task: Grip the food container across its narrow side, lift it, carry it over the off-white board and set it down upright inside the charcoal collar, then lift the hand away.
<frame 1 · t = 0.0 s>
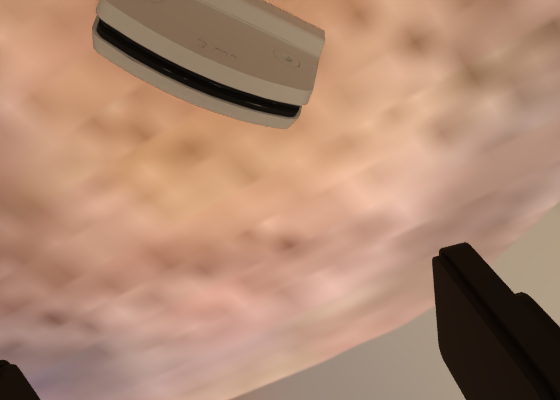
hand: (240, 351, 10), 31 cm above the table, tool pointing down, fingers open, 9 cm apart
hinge: (214, 33, 37), on the table
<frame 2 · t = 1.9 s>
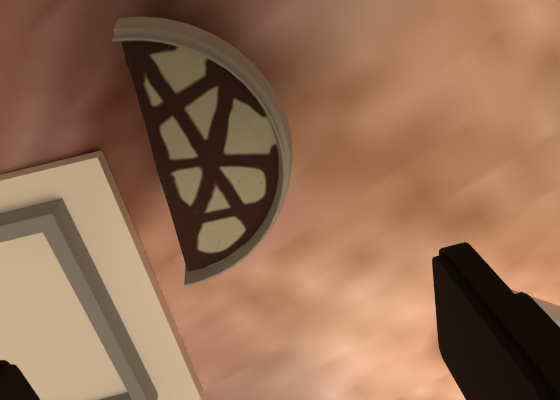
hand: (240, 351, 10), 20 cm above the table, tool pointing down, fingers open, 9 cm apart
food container: (223, 103, 28), on the table
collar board: (39, 317, 34), on the table
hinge: (523, 334, 41), on the table
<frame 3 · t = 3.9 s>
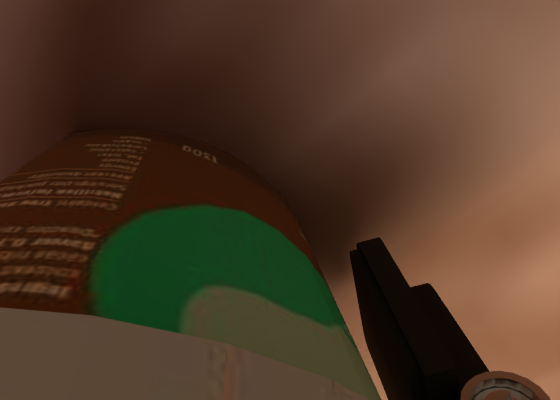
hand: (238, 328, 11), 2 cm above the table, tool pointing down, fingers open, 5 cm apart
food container: (242, 265, 13), on the table, touching gripper
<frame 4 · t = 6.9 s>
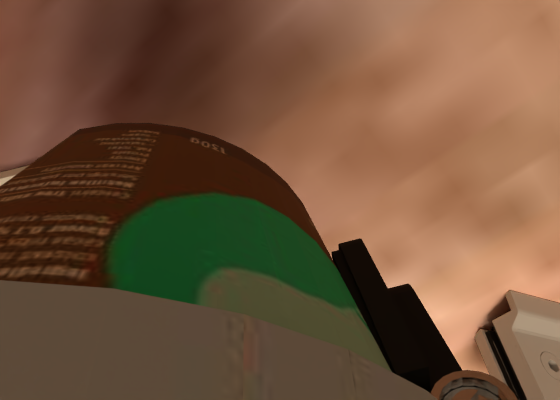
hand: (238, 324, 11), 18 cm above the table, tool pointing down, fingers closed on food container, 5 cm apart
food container: (253, 256, 13), point 15 cm above the table, touching gripper
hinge: (558, 342, 39), on the table
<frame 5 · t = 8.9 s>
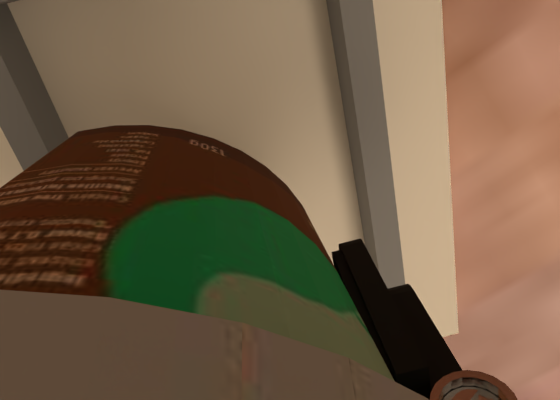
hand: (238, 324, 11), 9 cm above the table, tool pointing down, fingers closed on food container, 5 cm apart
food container: (252, 258, 13), point 7 cm above the table, touching gripper
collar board: (227, 174, 19), on the table
when the fingers open (5 cm above the table, at t = 9.9 s): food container drops 2 cm, resting on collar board.
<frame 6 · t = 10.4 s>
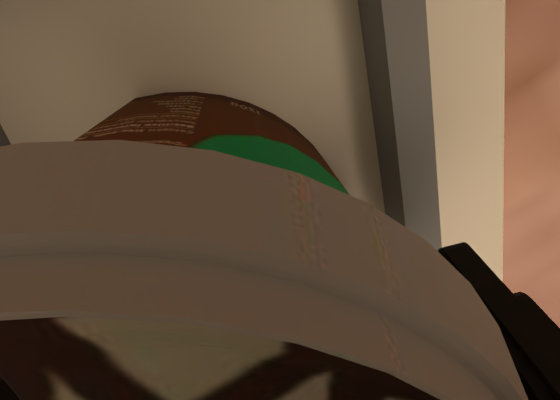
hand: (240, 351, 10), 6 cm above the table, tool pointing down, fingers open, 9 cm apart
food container: (283, 213, 15), point 1 cm above the table, touching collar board, gripper
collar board: (230, 218, 16), on the table
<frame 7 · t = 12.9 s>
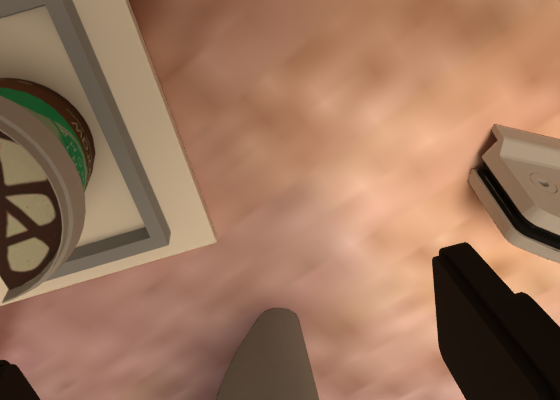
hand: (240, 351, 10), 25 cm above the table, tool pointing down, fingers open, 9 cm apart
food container: (63, 134, 31), point 1 cm above the table, touching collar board
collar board: (45, 141, 33), on the table
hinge: (552, 183, 40), on the table
grey upright block: (248, 376, 45), on the table
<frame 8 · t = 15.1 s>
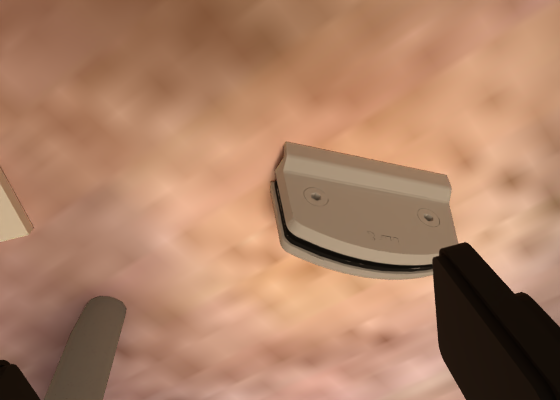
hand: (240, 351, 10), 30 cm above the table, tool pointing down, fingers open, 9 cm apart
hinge: (355, 194, 44), on the table
grey upright block: (85, 357, 49), on the table
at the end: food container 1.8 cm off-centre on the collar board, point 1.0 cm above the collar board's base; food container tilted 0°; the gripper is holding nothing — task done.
